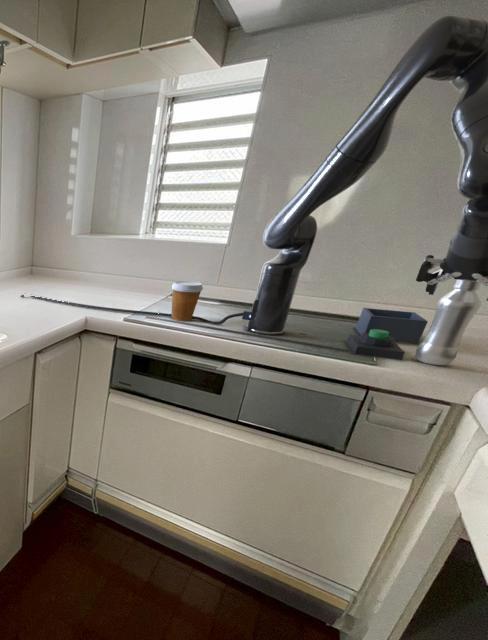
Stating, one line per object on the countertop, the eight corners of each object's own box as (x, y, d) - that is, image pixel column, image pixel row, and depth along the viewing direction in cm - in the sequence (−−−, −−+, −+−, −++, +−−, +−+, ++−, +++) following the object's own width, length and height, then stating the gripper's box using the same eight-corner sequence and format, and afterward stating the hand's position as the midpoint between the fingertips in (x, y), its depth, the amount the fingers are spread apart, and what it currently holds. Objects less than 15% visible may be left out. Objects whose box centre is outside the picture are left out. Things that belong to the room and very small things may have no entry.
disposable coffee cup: (166, 320, 135) (173, 284, 130) (165, 314, 143) (171, 280, 138) (198, 323, 132) (205, 286, 127) (195, 316, 140) (202, 281, 135)
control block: (354, 354, 103) (359, 339, 102) (346, 342, 113) (351, 328, 111) (401, 360, 99) (407, 345, 98) (389, 347, 108) (394, 333, 107)
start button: (369, 338, 104) (372, 331, 103) (366, 334, 107) (369, 328, 106) (388, 340, 102) (390, 333, 102) (384, 336, 105) (387, 330, 104)
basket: (363, 338, 116) (371, 315, 114) (355, 328, 125) (363, 307, 123) (418, 344, 111) (428, 321, 108) (405, 334, 120) (415, 312, 117)
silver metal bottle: (410, 357, 101) (444, 276, 94) (448, 363, 97) (488, 279, 90) (413, 364, 97) (449, 280, 89) (453, 370, 93) (495, 283, 85)
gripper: (549, 227, 71) (518, 285, 82) (434, 225, 82) (421, 276, 92) (532, 260, 70) (504, 314, 81) (419, 254, 81) (407, 302, 92)
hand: (460, 294), depth 87 cm, fingers open, 8 cm apart
